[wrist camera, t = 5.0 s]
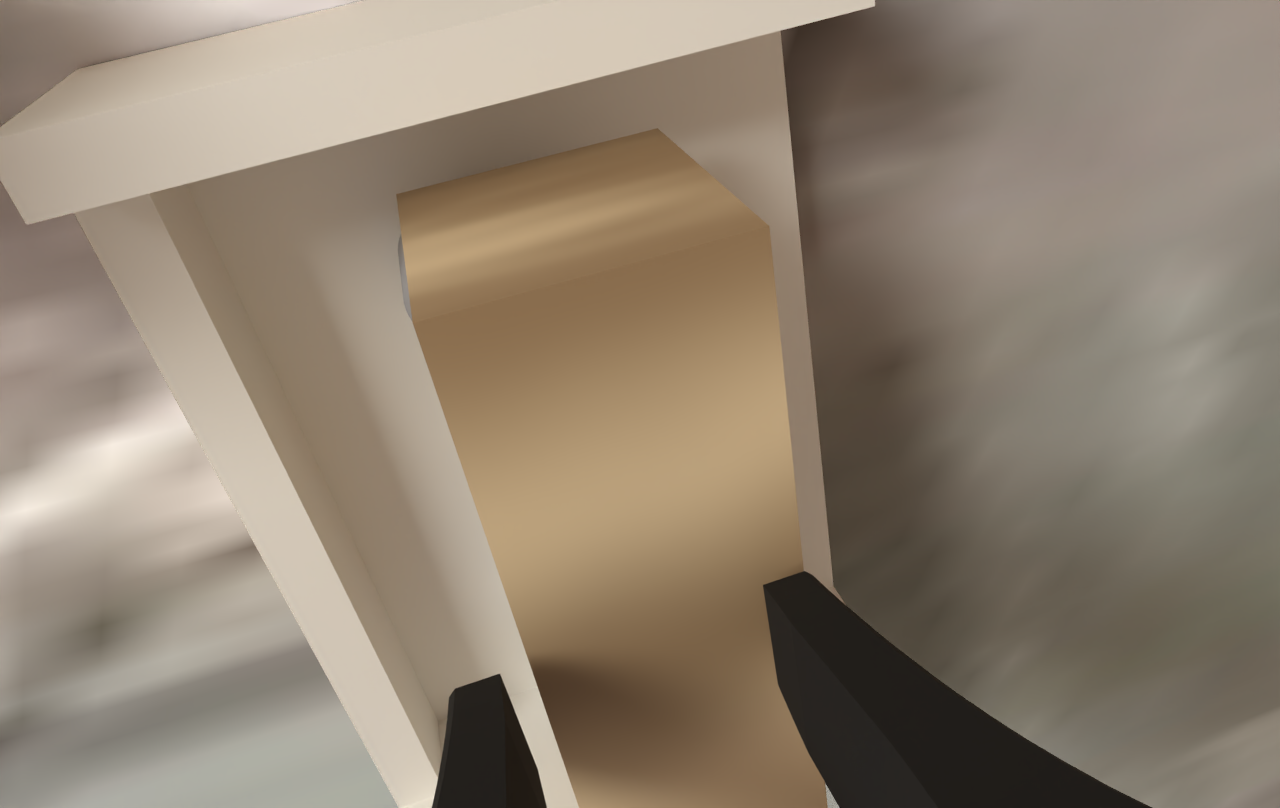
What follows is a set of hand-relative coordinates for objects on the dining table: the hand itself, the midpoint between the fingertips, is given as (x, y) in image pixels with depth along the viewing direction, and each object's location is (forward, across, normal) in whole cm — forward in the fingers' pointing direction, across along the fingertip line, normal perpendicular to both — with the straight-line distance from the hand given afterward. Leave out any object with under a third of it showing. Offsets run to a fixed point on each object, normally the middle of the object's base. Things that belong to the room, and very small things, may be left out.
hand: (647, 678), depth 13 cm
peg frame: (+8, 0, 0) cm, 8 cm away
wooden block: (+5, 0, 0) cm, 5 cm away
